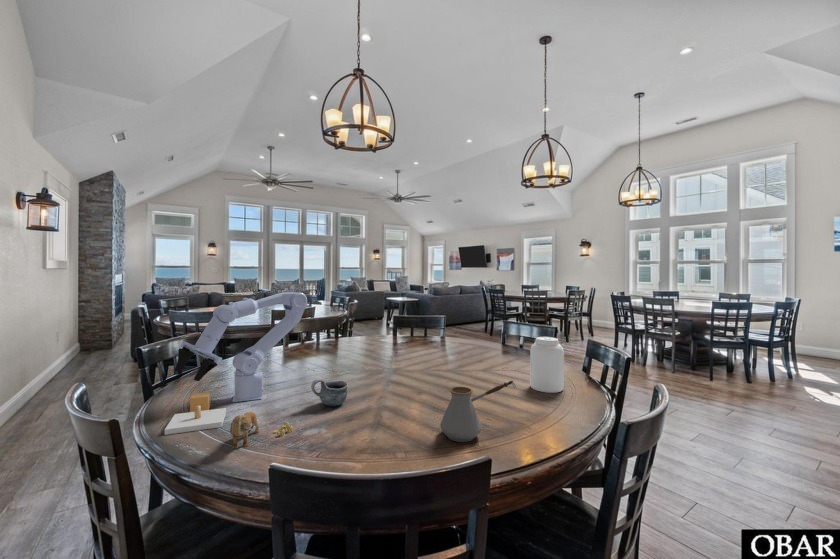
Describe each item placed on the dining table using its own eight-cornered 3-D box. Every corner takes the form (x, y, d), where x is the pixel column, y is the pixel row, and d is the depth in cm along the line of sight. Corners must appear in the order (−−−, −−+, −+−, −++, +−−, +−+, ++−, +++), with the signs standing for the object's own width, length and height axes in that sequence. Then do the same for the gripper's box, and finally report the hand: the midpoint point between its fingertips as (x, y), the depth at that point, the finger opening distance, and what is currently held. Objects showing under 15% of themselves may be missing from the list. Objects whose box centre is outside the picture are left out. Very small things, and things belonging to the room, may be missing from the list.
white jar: (570, 389, 143) (570, 338, 143) (550, 395, 136) (550, 341, 136) (543, 381, 154) (543, 334, 153) (523, 386, 146) (523, 336, 146)
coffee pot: (444, 446, 96) (444, 389, 96) (436, 428, 107) (437, 377, 107) (522, 442, 99) (523, 386, 98) (507, 424, 110) (507, 374, 110)
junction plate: (226, 412, 118) (226, 397, 118) (221, 427, 107) (221, 410, 107) (174, 418, 113) (174, 402, 113) (164, 434, 102) (164, 417, 102)
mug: (353, 404, 126) (353, 375, 126) (321, 414, 117) (321, 383, 117) (337, 397, 133) (337, 370, 133) (306, 407, 124) (306, 377, 123)
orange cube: (210, 406, 124) (210, 391, 124) (208, 411, 119) (208, 396, 119) (193, 408, 122) (193, 393, 122) (190, 413, 117) (190, 398, 117)
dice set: (287, 428, 108) (287, 421, 108) (297, 433, 105) (297, 426, 105) (270, 434, 104) (271, 427, 104) (280, 439, 101) (280, 432, 101)
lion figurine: (250, 453, 92) (250, 417, 92) (226, 455, 91) (226, 419, 91) (260, 428, 106) (260, 397, 106) (240, 430, 105) (240, 399, 105)
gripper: (185, 327, 122) (160, 365, 117) (221, 343, 119) (197, 383, 115) (197, 331, 128) (174, 368, 124) (232, 347, 126) (210, 385, 121)
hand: (186, 376), depth 120 cm, fingers open, 7 cm apart
